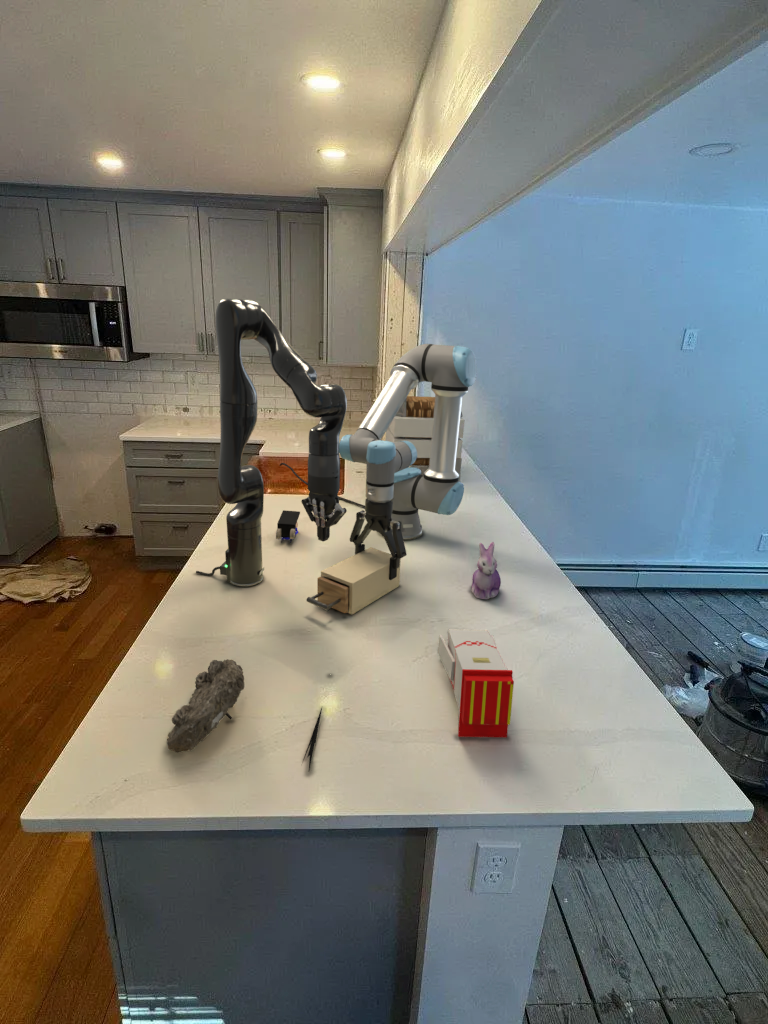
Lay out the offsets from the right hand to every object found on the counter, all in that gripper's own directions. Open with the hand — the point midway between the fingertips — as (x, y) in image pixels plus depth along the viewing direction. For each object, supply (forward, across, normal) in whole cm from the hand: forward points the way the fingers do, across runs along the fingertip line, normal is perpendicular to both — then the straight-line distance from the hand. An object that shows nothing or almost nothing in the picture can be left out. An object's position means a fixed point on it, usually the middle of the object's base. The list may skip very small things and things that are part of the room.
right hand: (376, 572), depth 161 cm
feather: (+4, +26, -52) cm, 58 cm away
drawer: (+3, 0, -12) cm, 12 cm away
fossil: (+4, +10, -64) cm, 65 cm away
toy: (+4, +44, -25) cm, 51 cm away
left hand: (-17, 0, -22) cm, 28 cm away
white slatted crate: (+4, -56, +108) cm, 121 cm away
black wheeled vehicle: (+4, -43, +8) cm, 44 cm away
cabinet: (+4, 0, -7) cm, 8 cm away
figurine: (+4, +26, +17) cm, 32 cm away
